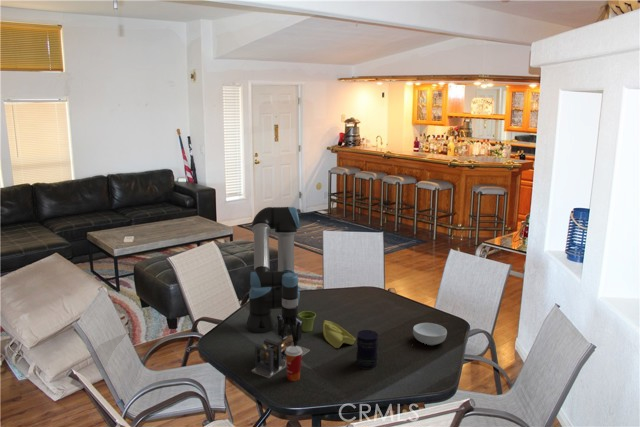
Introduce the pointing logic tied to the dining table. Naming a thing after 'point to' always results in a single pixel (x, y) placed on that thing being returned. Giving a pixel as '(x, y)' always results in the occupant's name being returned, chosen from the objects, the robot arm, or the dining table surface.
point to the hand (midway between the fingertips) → (289, 351)
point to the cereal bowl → (429, 333)
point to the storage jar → (367, 349)
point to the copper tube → (285, 344)
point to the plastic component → (336, 334)
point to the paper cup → (293, 362)
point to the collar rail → (271, 359)
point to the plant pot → (307, 320)
